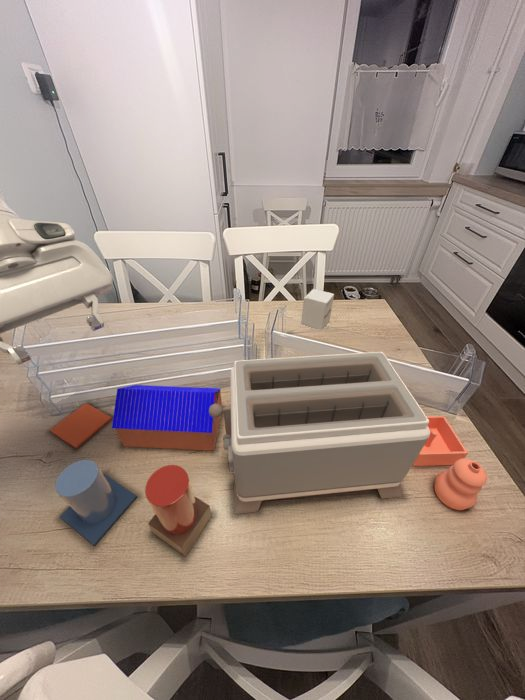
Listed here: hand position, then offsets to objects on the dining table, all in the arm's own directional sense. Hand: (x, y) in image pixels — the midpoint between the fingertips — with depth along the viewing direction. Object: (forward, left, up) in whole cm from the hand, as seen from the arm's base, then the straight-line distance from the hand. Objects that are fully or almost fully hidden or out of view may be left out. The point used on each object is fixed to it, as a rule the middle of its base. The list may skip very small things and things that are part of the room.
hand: (64, 343), depth 39 cm
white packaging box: (+64, -15, -32) cm, 73 cm away
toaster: (+19, -29, -32) cm, 47 cm away
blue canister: (-8, -1, -31) cm, 32 cm away
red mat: (+2, +18, -31) cm, 36 cm away
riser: (-3, -16, -31) cm, 35 cm away
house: (+12, -1, -32) cm, 34 cm away
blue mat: (-8, -1, -31) cm, 32 cm away
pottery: (+30, -54, -32) cm, 69 cm away
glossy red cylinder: (-3, -16, -27) cm, 32 cm away
